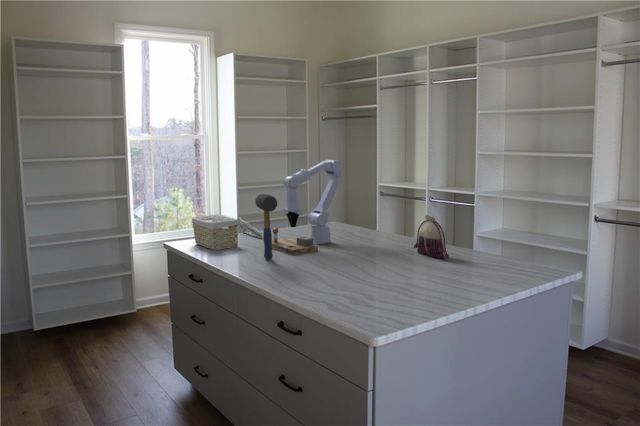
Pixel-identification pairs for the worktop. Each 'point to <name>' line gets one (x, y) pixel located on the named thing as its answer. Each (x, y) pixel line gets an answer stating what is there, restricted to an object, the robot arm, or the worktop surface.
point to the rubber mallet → (267, 221)
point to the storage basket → (216, 231)
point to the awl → (275, 234)
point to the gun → (248, 228)
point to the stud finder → (304, 241)
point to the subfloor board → (292, 247)
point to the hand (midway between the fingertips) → (293, 227)
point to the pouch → (431, 239)
